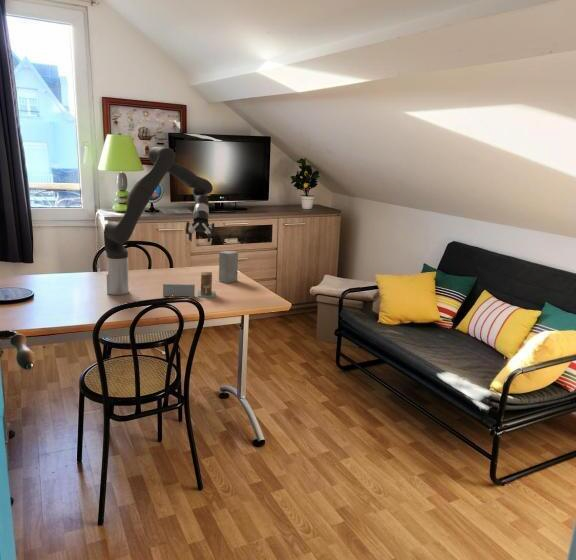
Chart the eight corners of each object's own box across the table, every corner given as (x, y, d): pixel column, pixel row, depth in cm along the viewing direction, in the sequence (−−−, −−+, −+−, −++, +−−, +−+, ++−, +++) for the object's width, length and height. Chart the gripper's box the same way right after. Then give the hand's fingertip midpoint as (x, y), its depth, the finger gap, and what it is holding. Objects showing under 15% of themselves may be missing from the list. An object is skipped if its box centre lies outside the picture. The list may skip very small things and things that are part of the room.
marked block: (200, 295, 248) (201, 274, 245) (201, 291, 253) (201, 272, 250) (211, 295, 249) (211, 275, 246) (211, 292, 254) (212, 272, 251)
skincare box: (227, 283, 271) (228, 254, 267) (217, 280, 275) (218, 251, 271) (238, 280, 278) (239, 251, 274) (228, 278, 282) (229, 249, 278)
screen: (163, 296, 244) (163, 284, 243) (163, 295, 245) (163, 283, 244) (194, 297, 246) (194, 285, 245) (194, 296, 248) (194, 284, 246)
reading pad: (197, 297, 247) (197, 295, 247) (198, 292, 254) (198, 290, 254) (214, 297, 248) (214, 296, 248) (214, 292, 256) (214, 291, 255)
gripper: (186, 209, 260) (184, 235, 252) (215, 210, 262) (214, 237, 254) (186, 218, 267) (185, 244, 259) (215, 219, 269) (214, 245, 261)
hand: (199, 240), depth 257 cm, fingers open, 8 cm apart
